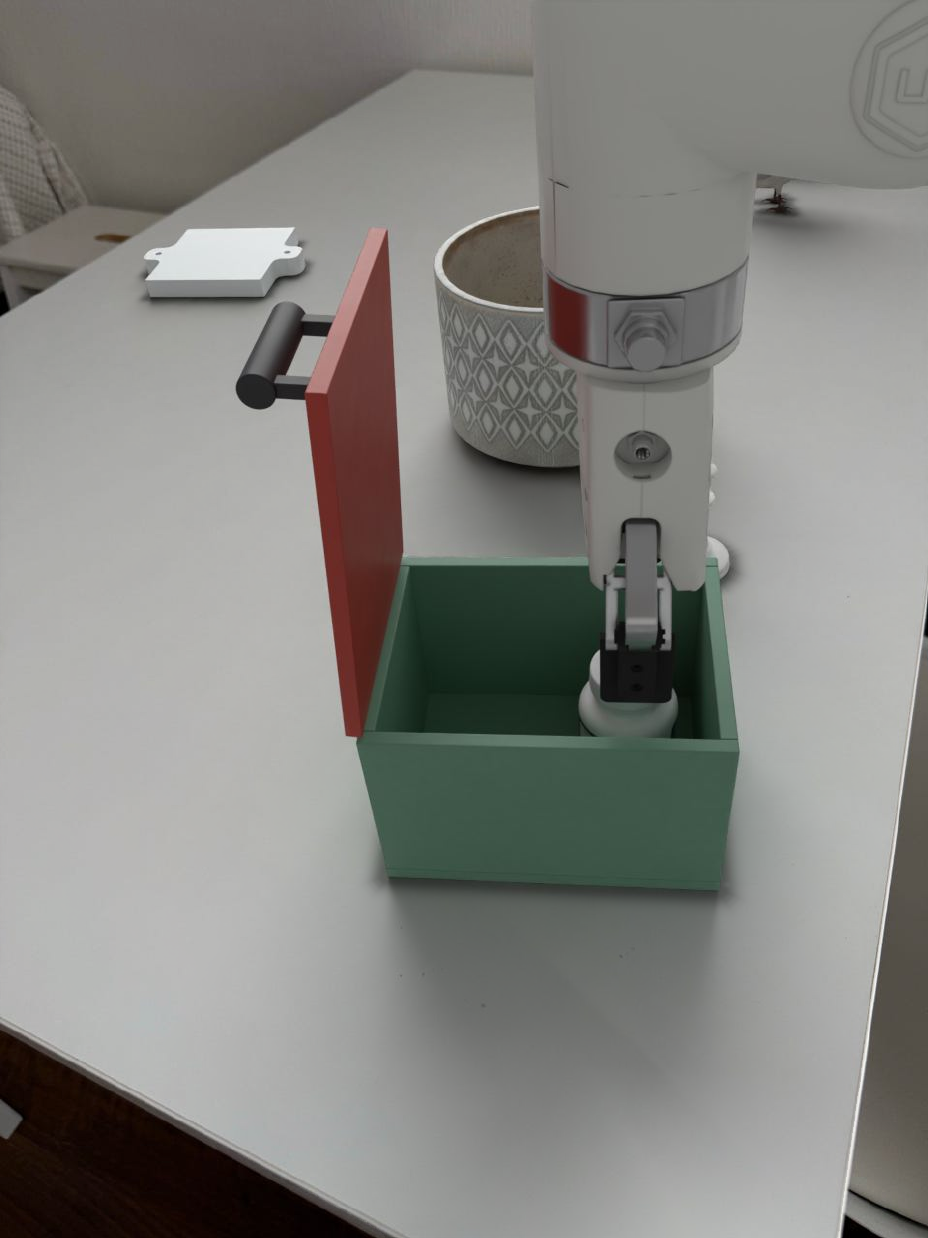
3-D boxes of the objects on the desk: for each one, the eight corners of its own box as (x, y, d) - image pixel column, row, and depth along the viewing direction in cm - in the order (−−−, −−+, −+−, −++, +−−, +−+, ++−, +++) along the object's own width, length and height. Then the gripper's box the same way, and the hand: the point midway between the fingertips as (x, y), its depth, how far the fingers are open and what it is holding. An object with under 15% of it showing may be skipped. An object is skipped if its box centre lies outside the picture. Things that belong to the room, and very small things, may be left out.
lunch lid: (387, 227, 45) (284, 223, 46) (326, 394, 36) (195, 386, 36) (403, 550, 58) (322, 545, 58) (362, 738, 48) (265, 730, 49)
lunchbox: (702, 697, 64) (717, 556, 56) (718, 891, 54) (740, 753, 46) (420, 692, 66) (397, 556, 58) (387, 877, 56) (355, 743, 49)
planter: (407, 420, 89) (384, 260, 80) (562, 340, 97) (559, 185, 87) (556, 512, 78) (551, 339, 68) (718, 413, 86) (735, 245, 76)
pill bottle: (624, 724, 62) (627, 616, 56) (692, 774, 59) (703, 665, 53) (560, 773, 59) (556, 666, 53) (627, 828, 56) (631, 721, 50)
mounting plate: (319, 243, 118) (316, 226, 117) (287, 296, 109) (283, 279, 108) (172, 245, 121) (167, 229, 120) (128, 297, 112) (123, 280, 111)
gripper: (770, 421, 32) (726, 765, 44) (725, 201, 45) (700, 514, 57) (530, 427, 33) (549, 761, 45) (552, 209, 46) (562, 516, 58)
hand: (633, 624), depth 51 cm, fingers open, 9 cm apart
